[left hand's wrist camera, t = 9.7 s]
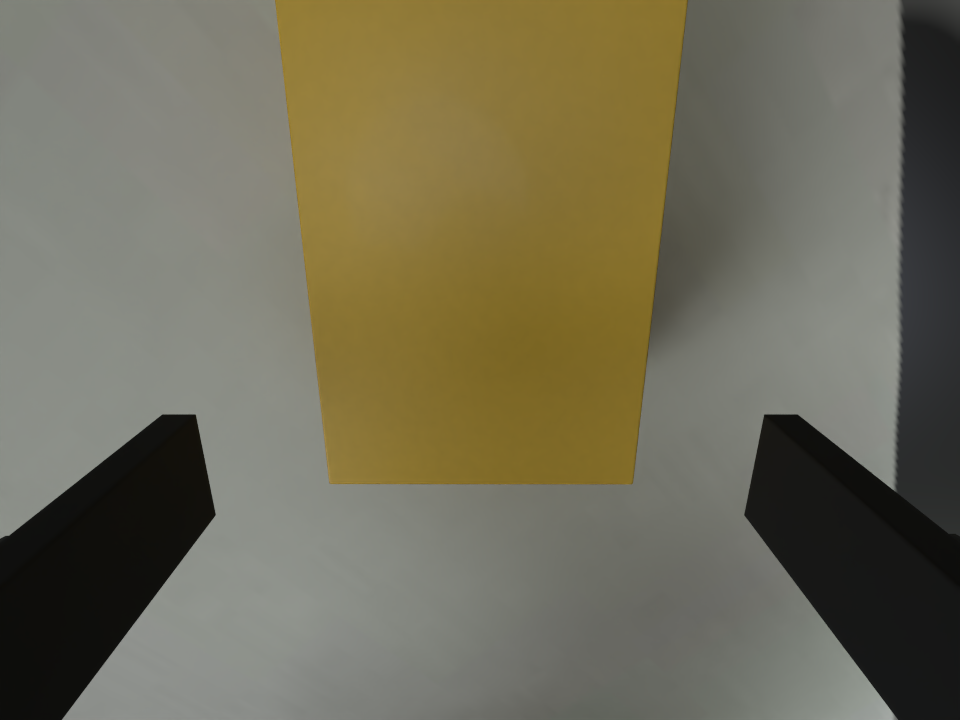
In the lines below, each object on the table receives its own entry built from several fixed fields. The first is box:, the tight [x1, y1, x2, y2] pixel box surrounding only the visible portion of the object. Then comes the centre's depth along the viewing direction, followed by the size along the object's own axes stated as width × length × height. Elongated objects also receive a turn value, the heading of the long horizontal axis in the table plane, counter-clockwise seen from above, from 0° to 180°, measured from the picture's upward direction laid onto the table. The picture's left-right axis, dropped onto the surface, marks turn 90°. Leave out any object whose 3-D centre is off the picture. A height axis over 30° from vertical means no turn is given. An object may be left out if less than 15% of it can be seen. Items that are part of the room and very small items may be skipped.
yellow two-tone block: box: [275, 0, 688, 484], centre depth 20 cm, size 19×11×8 cm, turn 0°
